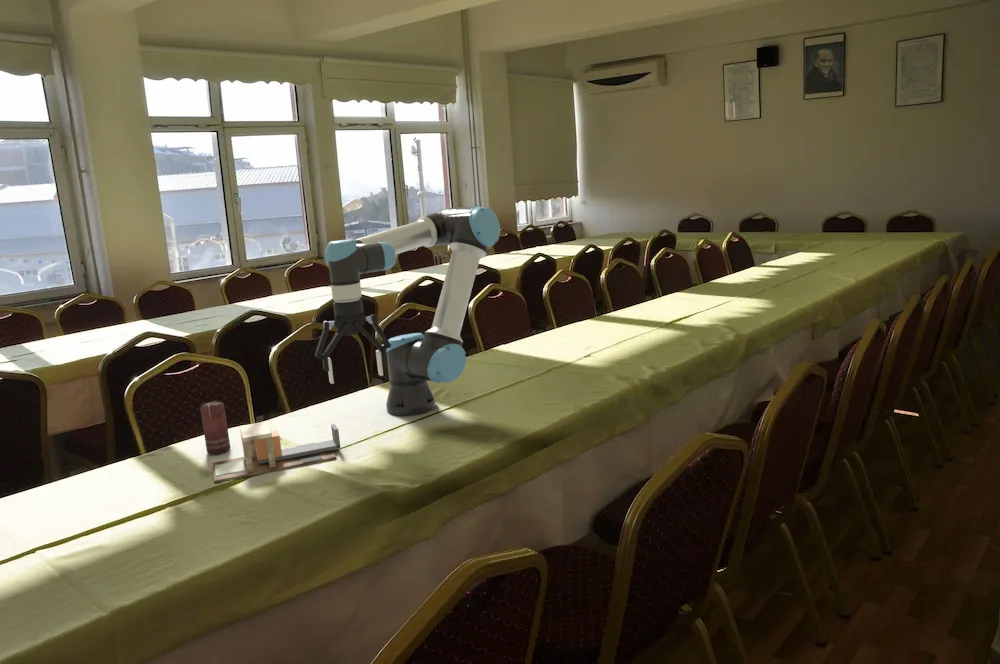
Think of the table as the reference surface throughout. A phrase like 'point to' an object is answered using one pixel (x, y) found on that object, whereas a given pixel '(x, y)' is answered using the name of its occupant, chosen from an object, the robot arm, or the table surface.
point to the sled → (294, 451)
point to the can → (215, 427)
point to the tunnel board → (249, 461)
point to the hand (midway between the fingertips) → (356, 378)
